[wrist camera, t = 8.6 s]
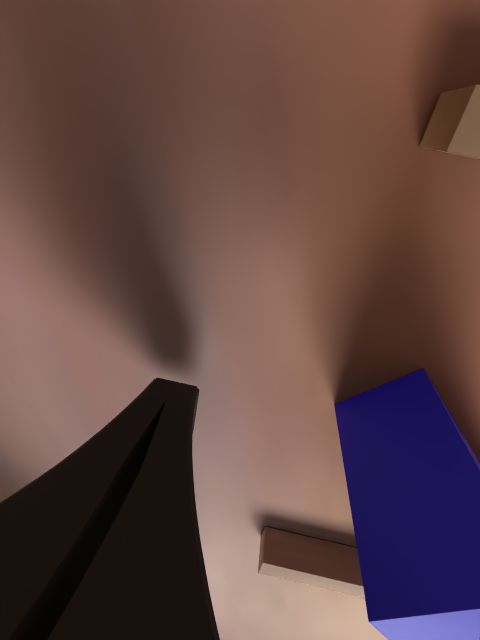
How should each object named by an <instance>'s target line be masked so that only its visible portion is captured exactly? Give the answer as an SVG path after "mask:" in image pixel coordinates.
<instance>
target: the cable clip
mask: <svg viewBox="0 0 480 640" xmlns="http://www.w3.org/2000/svg"><path fill="white" fill-rule="evenodd" d="M334 406H335V412H336V418H337V425H338V431H339V437H340V443H341V450H342V456H343V462H344V469H345V475H346V481H347V487H348V494H349V500H350V506H351V513H352V519H353V525H354V532H355V538H356V544H357V550H358V557H359V563H360V569H361V576H362V582H363V588H364V594H365V601H366V607H367V613H368V620H369V622H370V623H371V624H372V625H373V626H374V627H375V628H376V629H377V630H378V631H379V632H380V633H382V634H383V635H384V636H385V637H386V638H387V639H388V640H480V461H479V460H478V458H477V457H476V455H475V453H474V452H473V450H472V448H471V447H470V445H469V443H468V442H467V440H466V438H465V437H464V435H463V433H462V432H461V430H460V428H459V427H458V425H457V423H456V422H455V420H454V418H453V417H452V415H451V413H450V412H449V410H448V408H447V407H446V405H445V403H444V402H443V400H442V398H441V397H440V395H439V393H438V392H437V390H436V388H435V387H434V385H433V383H432V382H431V380H430V378H429V377H428V375H427V374H426V372H425V370H424V369H420V370H418V371H416V372H413V373H411V374H408V375H406V376H403V377H401V378H398V379H396V380H393V381H391V382H388V383H386V384H383V385H381V386H378V387H376V388H374V389H371V390H369V391H366V392H364V393H361V394H359V395H356V396H354V397H351V398H349V399H346V400H344V401H341V402H339V403H336V404H334Z"/></svg>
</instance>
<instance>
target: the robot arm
mask: <svg viewBox="0 0 480 640" xmlns="http://www.w3.org/2000/svg"><path fill="white" fill-rule="evenodd" d="M198 396H199V389H198V388H197V387H196V386H192V385H188V384H183V383H179V382H175V381H170V380H166V379H161V378H156V379H154V380H153V381H152V382H151V383H150V384H149V385H148V386H147V387H146V389H145V390H144V391H143V392H142V393H141V394H140V395H139V396H138V397H137V398H136V399H135V400H133V401H132V402H131V403H130V404H129V405H128V406H127V407H126V408H125V409H124V410H123V411H122V412H121V413H120V414H118V415H117V416H116V417H115V418H114V419H113V420H112V421H111V422H110V423H108V424H107V425H106V426H105V427H104V428H103V429H101V430H100V431H99V432H98V433H97V434H95V435H94V436H93V437H92V438H90V439H89V440H88V441H87V442H86V443H84V444H83V445H82V446H81V447H79V448H78V449H77V450H76V451H74V452H73V453H72V454H70V455H69V456H68V457H66V458H65V459H64V460H62V461H61V462H60V463H58V464H57V465H56V466H54V467H53V468H51V469H50V470H49V471H47V472H46V473H44V474H43V475H41V476H40V477H39V478H37V479H36V480H34V481H33V482H31V483H30V484H28V485H27V486H25V487H24V488H22V489H20V490H19V491H17V492H16V493H14V494H13V495H11V496H10V497H8V498H7V499H5V500H4V501H2V502H0V640H220V638H219V634H218V630H217V625H216V621H215V616H214V611H213V607H212V602H211V597H210V592H209V587H208V581H207V576H206V570H205V565H204V559H203V553H202V548H201V542H200V535H199V527H198V520H197V512H196V503H195V493H194V481H193V464H192V434H193V430H194V423H195V416H196V409H197V403H198Z"/></svg>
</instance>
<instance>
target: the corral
mask: <svg viewBox="0 0 480 640" xmlns="http://www.w3.org/2000/svg"><path fill="white" fill-rule="evenodd" d="M419 147H421V148H426V149H431V150H436V151H441V152H446V153H450V154H455V155H460V156H465V157H470V158H475V159H480V85H472V86H468V87H463V88H459V89H454V90H450V91H445V92H441V94H440V96H439V99H438V101H437V104H436V106H435V109H434V111H433V114H432V116H431V119H430V121H429V123H428V126H427V128H426V131H425V133H424V136H423V138H422V141H421V143H420V146H419ZM258 573H259V574H264V575H268V576H272V577H276V578H280V579H285V580H289V581H293V582H297V583H302V584H306V585H310V586H314V587H318V588H323V589H327V590H331V591H335V592H339V593H344V594H348V595H352V596H356V597H361V598H365V594H364V588H363V582H362V576H361V569H360V563H359V557H358V550H357V548H354V547H350V546H346V545H342V544H337V543H333V542H329V541H324V540H320V539H316V538H312V537H307V536H303V535H299V534H294V533H290V532H286V531H282V530H277V529H273V528H269V527H265V528H264V531H263V533H262V536H261V541H260V555H259V568H258Z"/></svg>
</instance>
